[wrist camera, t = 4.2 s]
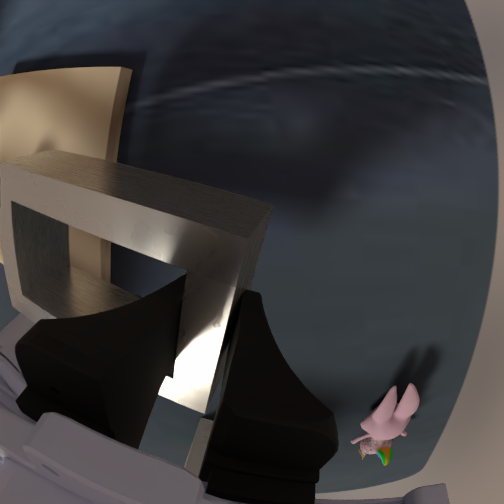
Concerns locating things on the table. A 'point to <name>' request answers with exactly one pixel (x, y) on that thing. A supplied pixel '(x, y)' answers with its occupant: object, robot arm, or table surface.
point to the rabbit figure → (387, 423)
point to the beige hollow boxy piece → (138, 239)
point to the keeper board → (67, 131)
